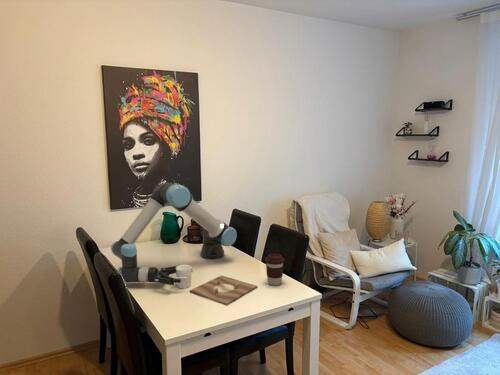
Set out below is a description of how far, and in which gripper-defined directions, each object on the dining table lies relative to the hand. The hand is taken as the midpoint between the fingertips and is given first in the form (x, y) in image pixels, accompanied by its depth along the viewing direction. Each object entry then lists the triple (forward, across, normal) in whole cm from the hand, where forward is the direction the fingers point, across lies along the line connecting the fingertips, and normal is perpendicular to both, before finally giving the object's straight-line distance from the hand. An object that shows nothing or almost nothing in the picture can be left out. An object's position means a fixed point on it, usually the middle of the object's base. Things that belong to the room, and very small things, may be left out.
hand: (190, 274), depth 191 cm
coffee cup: (+44, -4, -6) cm, 44 cm away
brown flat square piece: (+18, +5, -6) cm, 19 cm away
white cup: (-3, 0, -6) cm, 7 cm away
